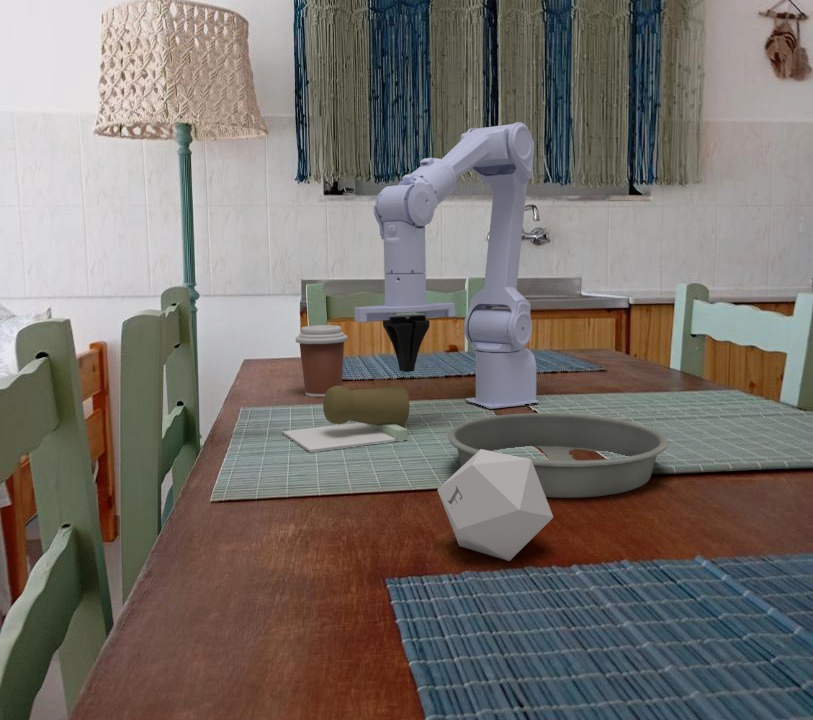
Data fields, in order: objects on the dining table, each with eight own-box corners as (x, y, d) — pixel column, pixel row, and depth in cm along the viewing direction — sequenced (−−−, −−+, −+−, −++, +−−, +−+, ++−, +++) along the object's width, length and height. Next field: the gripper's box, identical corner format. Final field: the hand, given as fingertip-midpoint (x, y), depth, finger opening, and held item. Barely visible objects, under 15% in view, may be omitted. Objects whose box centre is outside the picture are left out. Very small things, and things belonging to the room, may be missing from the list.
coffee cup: (287, 397, 142) (285, 329, 141) (313, 388, 151) (310, 324, 149) (334, 400, 139) (332, 330, 137) (357, 391, 147) (355, 325, 145)
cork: (403, 377, 114) (329, 372, 109) (413, 412, 111) (337, 409, 106) (387, 402, 118) (315, 399, 114) (396, 437, 115) (323, 435, 110)
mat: (362, 424, 119) (362, 422, 119) (396, 441, 108) (396, 439, 108) (282, 434, 114) (282, 431, 114) (310, 452, 103) (309, 449, 103)
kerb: (372, 423, 120) (372, 413, 119) (407, 440, 109) (407, 429, 109) (363, 424, 119) (363, 414, 119) (397, 441, 108) (397, 430, 108)
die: (455, 533, 75) (409, 462, 70) (538, 483, 75) (499, 409, 70) (489, 599, 68) (441, 526, 63) (581, 544, 68) (541, 467, 63)
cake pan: (636, 519, 77) (637, 472, 77) (409, 485, 89) (408, 445, 88) (686, 458, 98) (688, 422, 98) (497, 438, 110) (497, 405, 110)
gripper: (438, 271, 119) (439, 363, 121) (345, 274, 113) (348, 371, 115) (462, 272, 113) (462, 369, 115) (364, 275, 107) (367, 378, 108)
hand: (406, 370), depth 114 cm, fingers closed
